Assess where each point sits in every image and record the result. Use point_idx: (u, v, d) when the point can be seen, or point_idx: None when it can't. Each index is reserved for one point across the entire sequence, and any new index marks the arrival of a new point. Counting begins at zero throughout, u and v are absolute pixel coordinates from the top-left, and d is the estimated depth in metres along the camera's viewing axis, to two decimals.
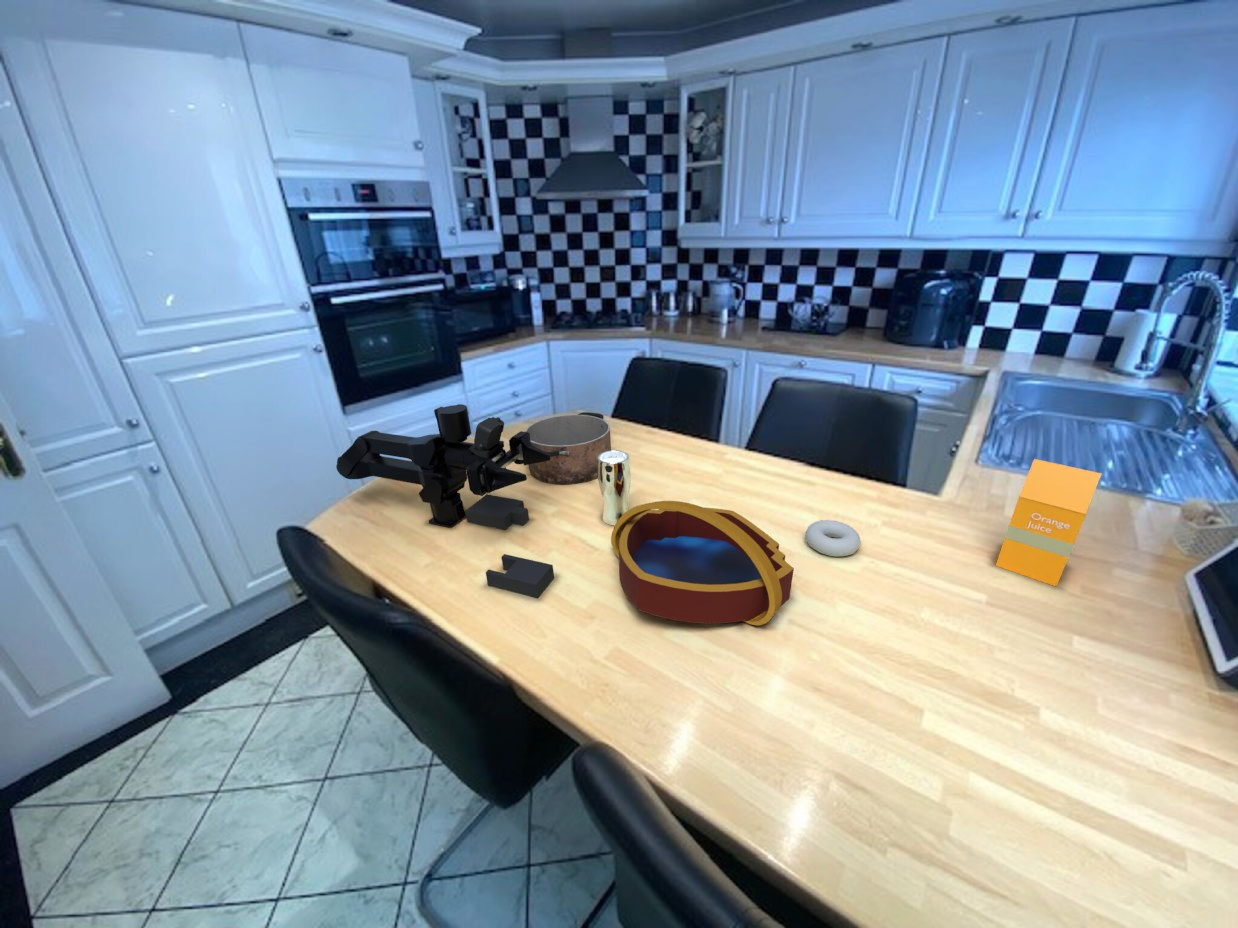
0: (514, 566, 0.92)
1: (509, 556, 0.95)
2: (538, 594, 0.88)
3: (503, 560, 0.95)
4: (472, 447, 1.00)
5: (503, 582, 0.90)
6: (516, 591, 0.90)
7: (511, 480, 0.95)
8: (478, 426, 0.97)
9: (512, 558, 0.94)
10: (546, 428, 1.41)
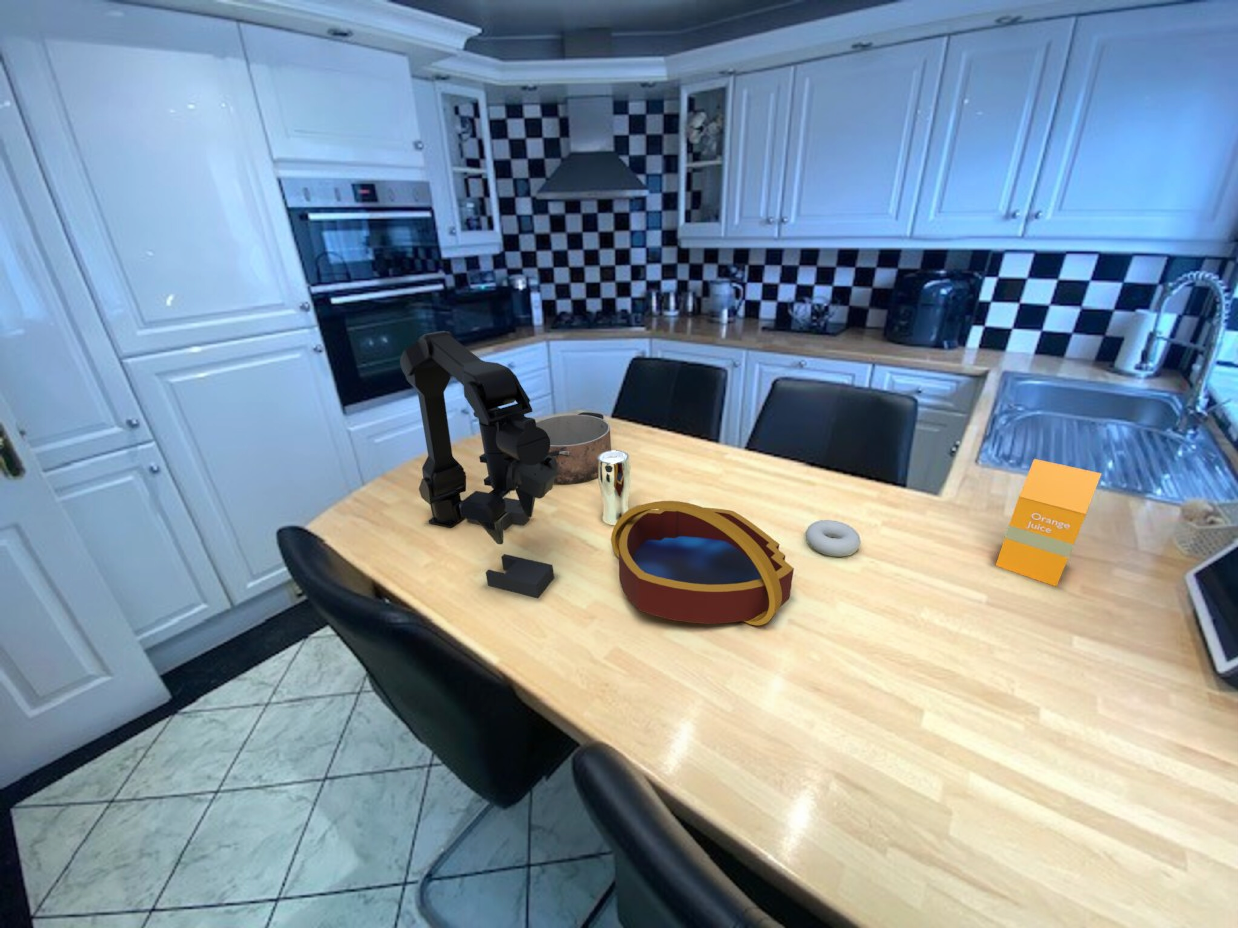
0: (514, 566, 0.92)
1: (509, 556, 0.95)
2: (538, 594, 0.88)
3: (503, 560, 0.95)
4: (514, 464, 0.80)
5: (503, 582, 0.90)
6: (516, 591, 0.90)
7: (491, 532, 0.82)
8: (541, 484, 0.79)
9: (512, 558, 0.94)
10: (546, 428, 1.41)
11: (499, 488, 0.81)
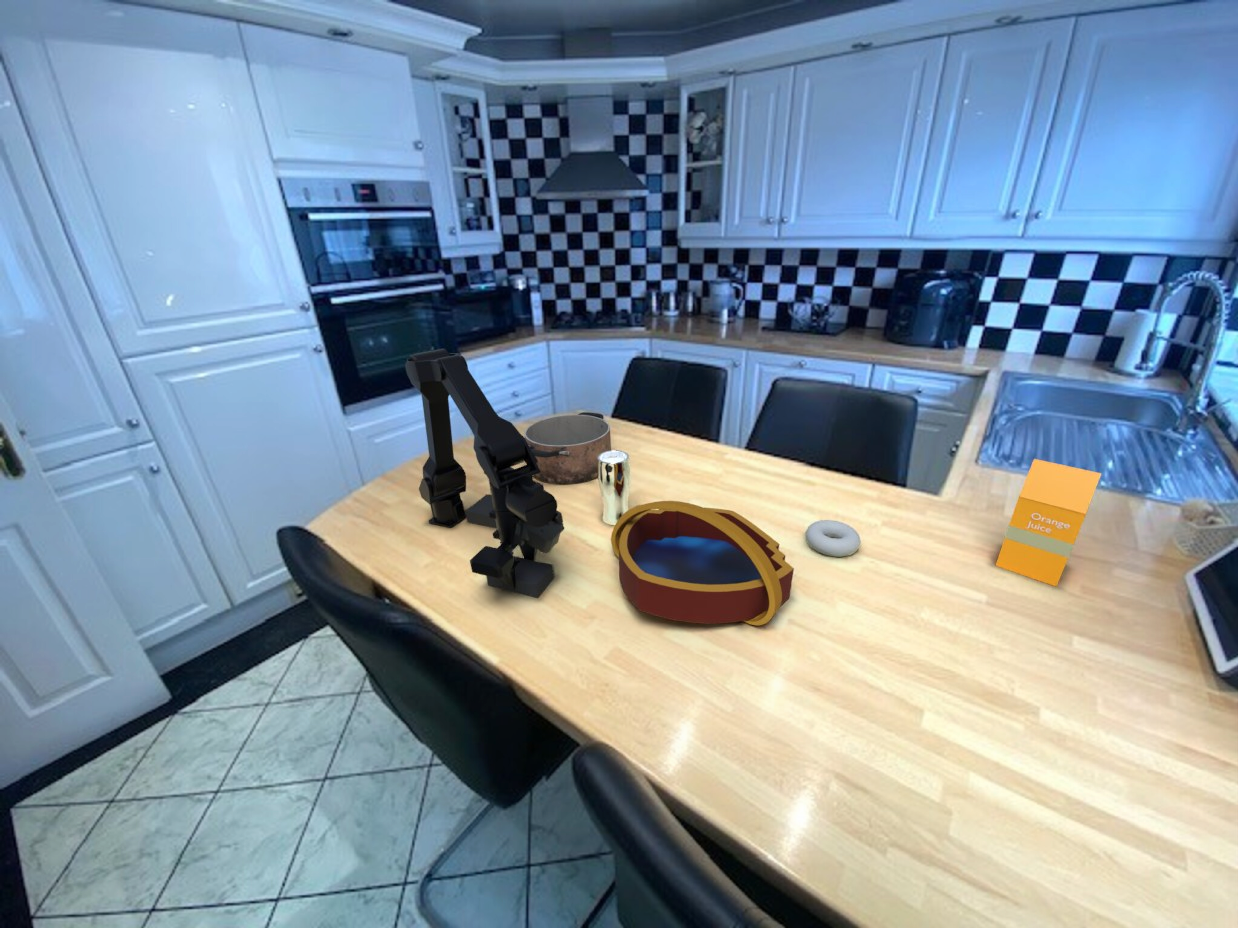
0: None
1: None
2: (538, 594, 0.89)
3: None
4: (522, 521, 0.84)
5: (503, 582, 0.90)
6: (516, 591, 0.90)
7: (504, 578, 0.88)
8: (548, 541, 0.83)
9: None
10: (546, 428, 1.41)
11: (507, 542, 0.86)
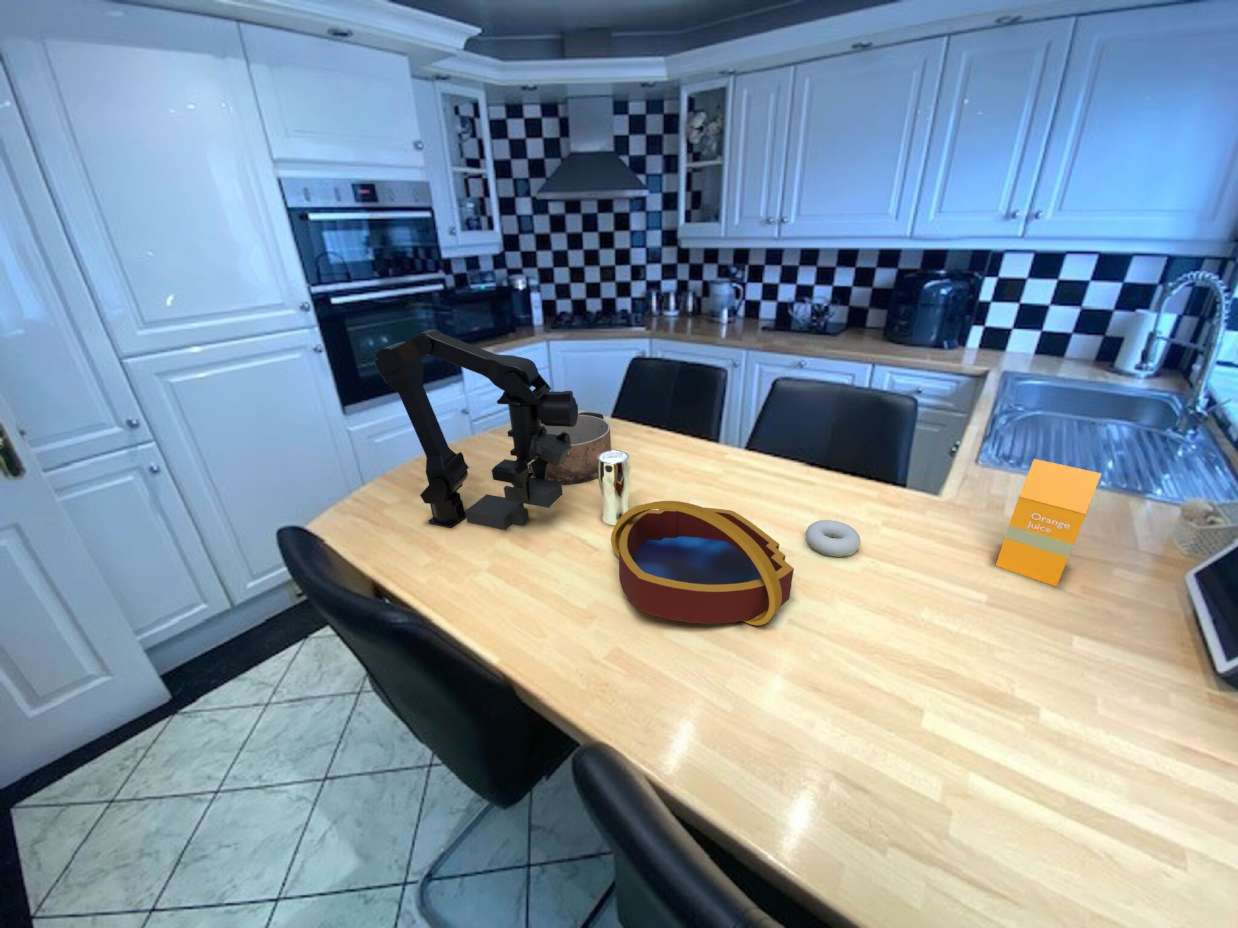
0: None
1: None
2: (549, 504, 1.03)
3: None
4: (535, 438, 0.98)
5: (519, 495, 1.05)
6: (530, 503, 1.04)
7: (520, 490, 1.02)
8: (558, 454, 0.97)
9: None
10: (546, 428, 1.41)
11: (523, 457, 1.00)
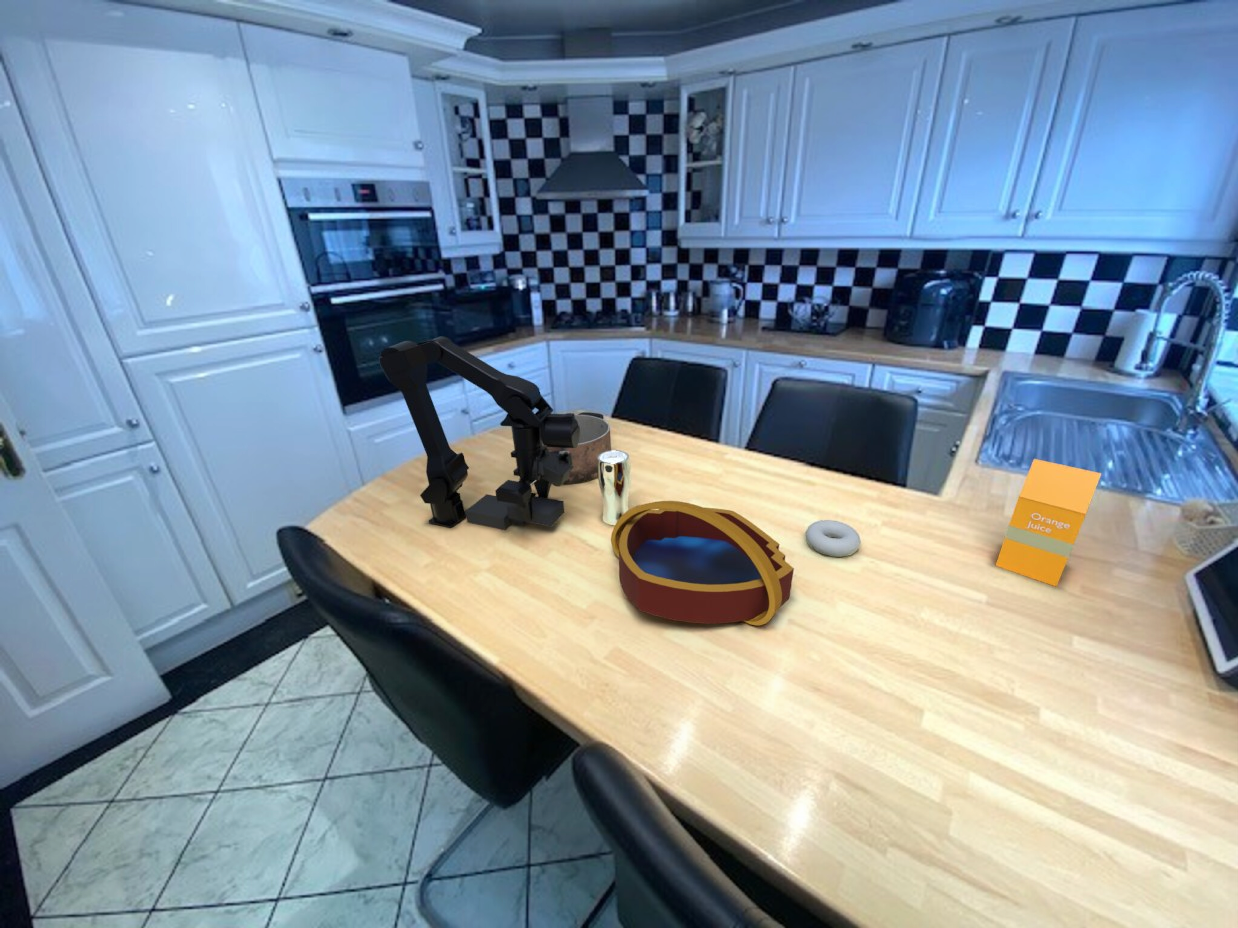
0: None
1: None
2: (551, 523, 1.05)
3: None
4: (538, 459, 1.00)
5: (522, 514, 1.07)
6: (533, 521, 1.06)
7: (522, 509, 1.04)
8: (560, 475, 0.99)
9: None
10: None
11: (526, 478, 1.02)
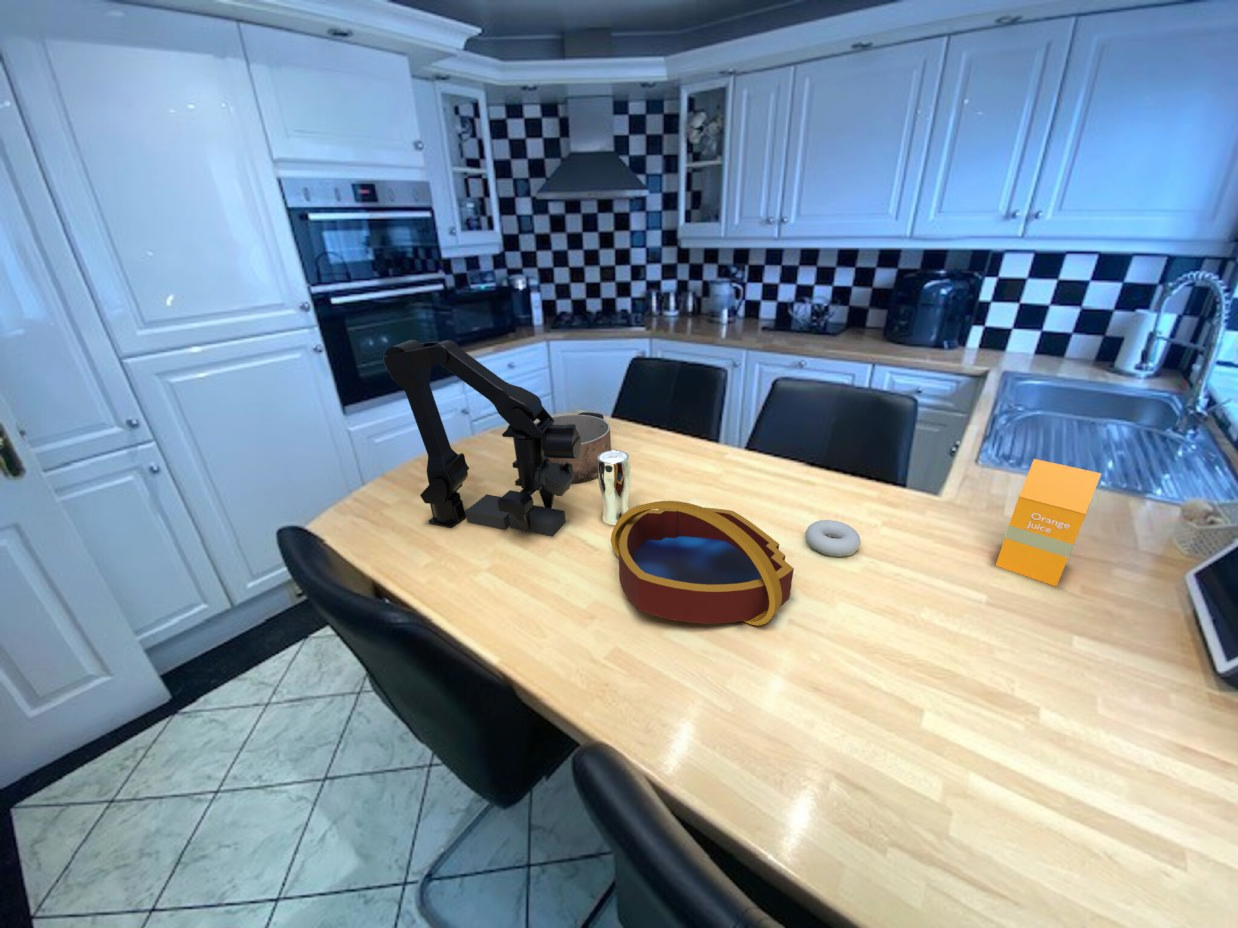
0: (532, 512, 1.10)
1: None
2: (553, 533, 1.06)
3: None
4: (540, 469, 1.01)
5: None
6: (534, 531, 1.07)
7: (520, 523, 1.04)
8: (562, 485, 1.00)
9: None
10: None
11: (527, 488, 1.03)
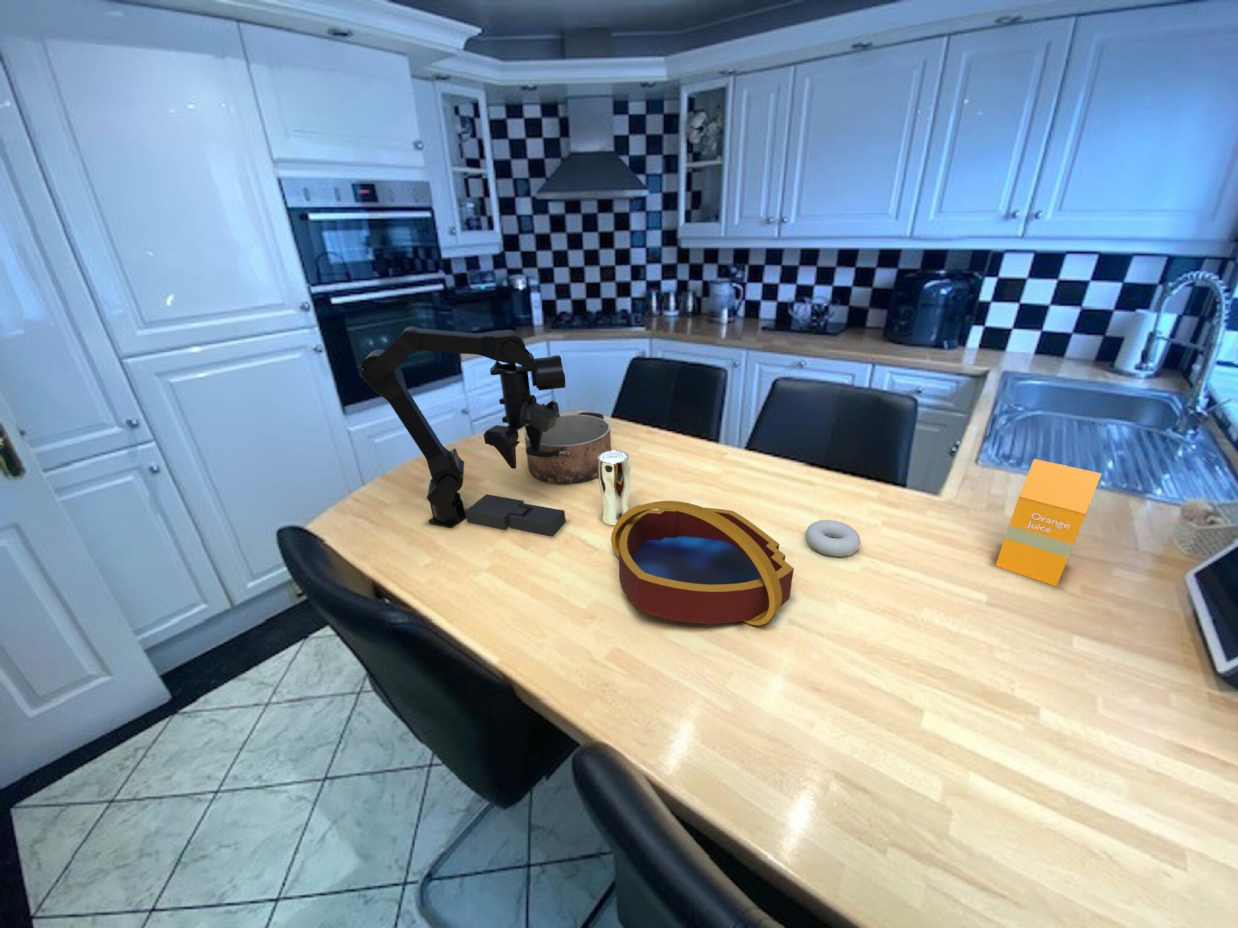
0: (532, 512, 1.10)
1: (527, 504, 1.12)
2: (553, 533, 1.06)
3: None
4: (525, 405, 1.04)
5: (523, 524, 1.08)
6: (534, 531, 1.07)
7: (507, 458, 1.07)
8: (546, 420, 1.03)
9: (530, 506, 1.12)
10: None
11: (514, 424, 1.06)
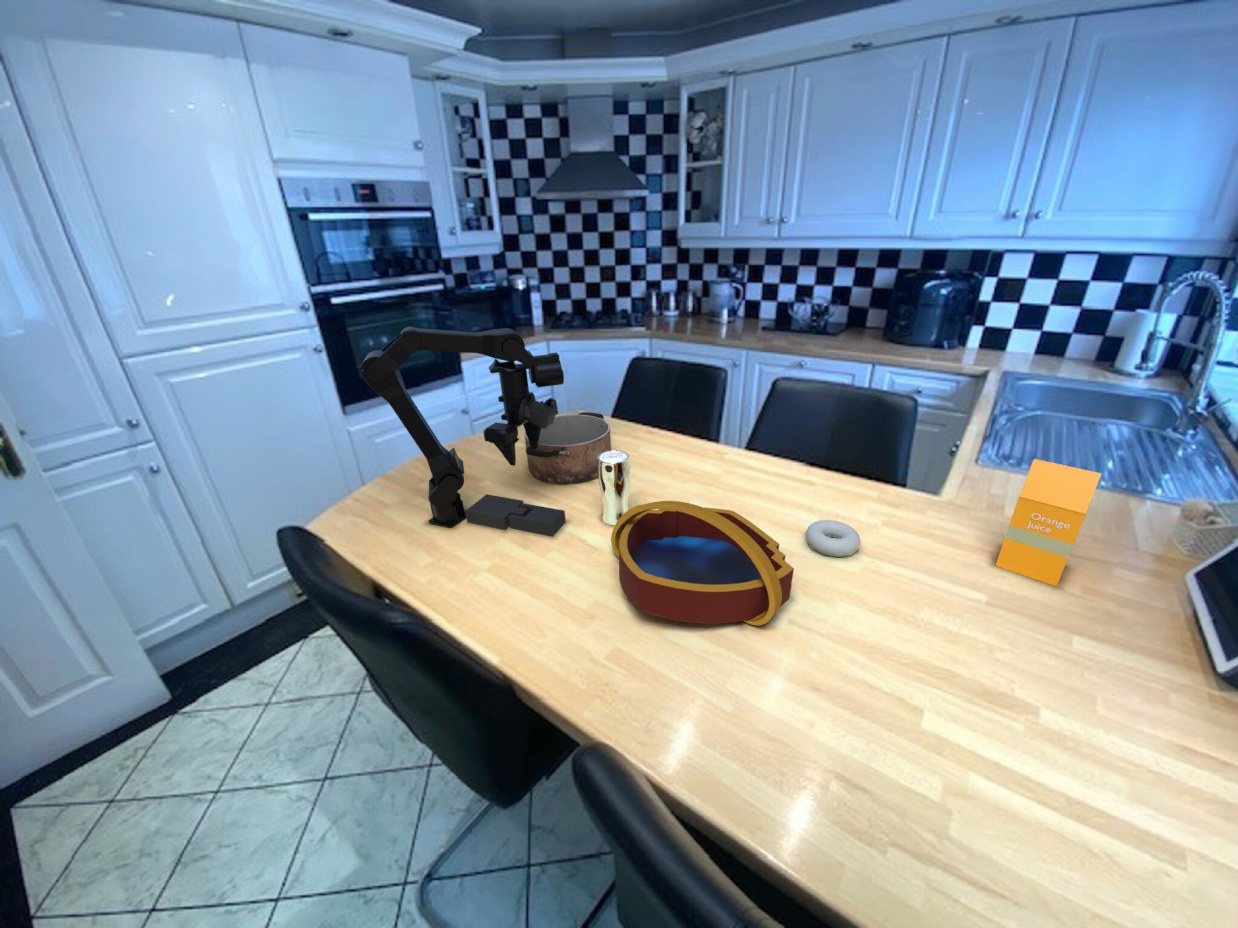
0: (532, 512, 1.10)
1: (527, 504, 1.12)
2: (553, 533, 1.06)
3: None
4: (524, 402, 1.06)
5: (523, 524, 1.08)
6: (534, 531, 1.07)
7: (506, 455, 1.09)
8: (545, 417, 1.05)
9: (530, 506, 1.12)
10: (546, 428, 1.41)
11: (513, 421, 1.08)
